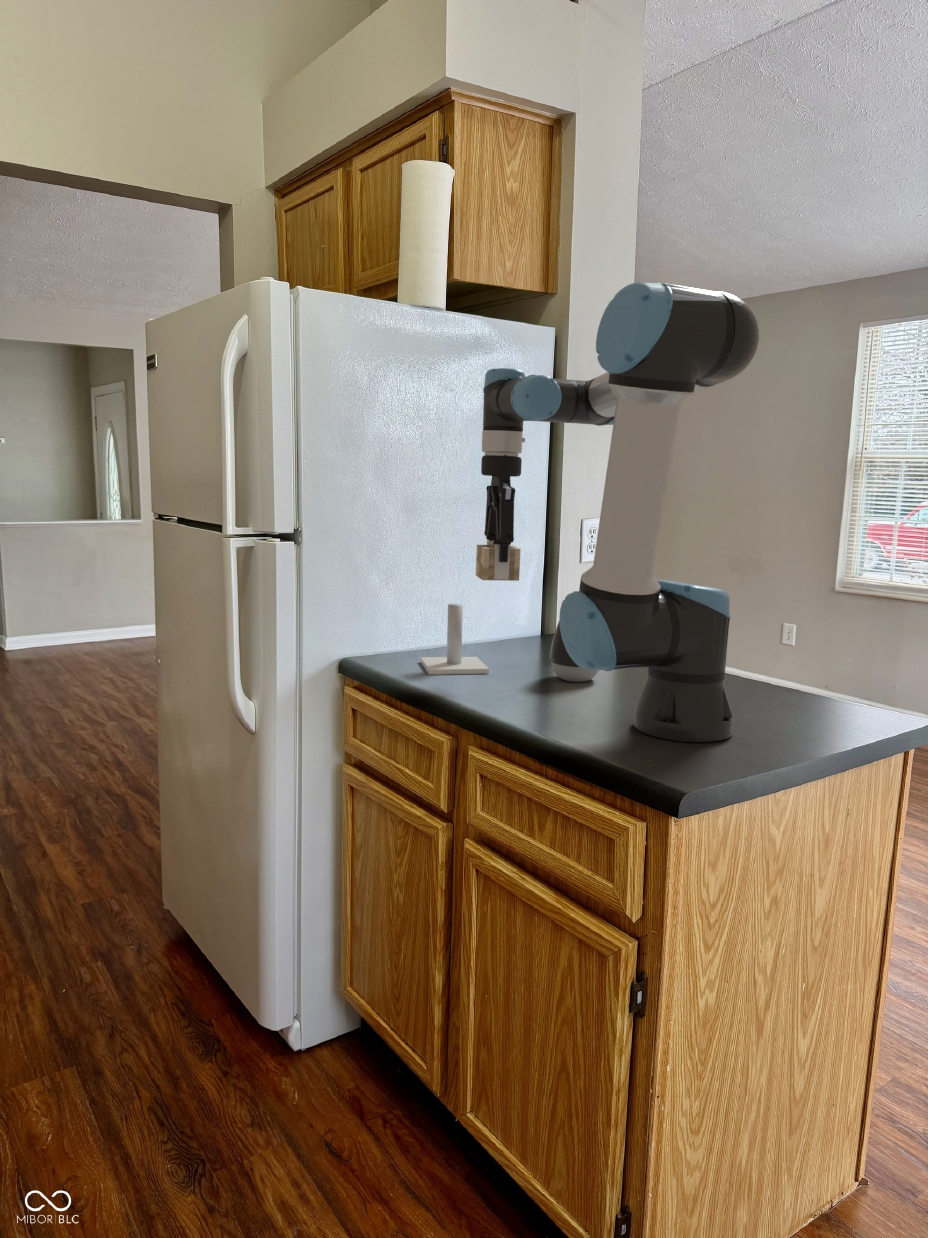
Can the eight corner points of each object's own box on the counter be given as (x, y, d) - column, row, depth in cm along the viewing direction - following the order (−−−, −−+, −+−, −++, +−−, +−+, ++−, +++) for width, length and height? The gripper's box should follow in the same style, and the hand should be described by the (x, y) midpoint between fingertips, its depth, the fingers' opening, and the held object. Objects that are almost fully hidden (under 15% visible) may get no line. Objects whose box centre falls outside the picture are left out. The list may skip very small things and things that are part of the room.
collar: (519, 580, 166) (520, 548, 165) (482, 580, 165) (483, 548, 164) (510, 575, 173) (511, 545, 172) (475, 575, 171) (476, 544, 170)
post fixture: (488, 673, 175) (490, 609, 173) (429, 674, 173) (430, 609, 171) (476, 661, 187) (478, 600, 185) (420, 662, 185) (421, 600, 183)
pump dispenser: (599, 674, 177) (603, 599, 175) (602, 686, 167) (607, 607, 165) (549, 672, 178) (552, 597, 176) (548, 683, 168) (552, 604, 166)
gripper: (534, 455, 156) (528, 583, 160) (509, 455, 175) (504, 570, 179) (493, 453, 154) (488, 583, 158) (472, 454, 174) (468, 570, 178)
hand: (496, 576), depth 169 cm, fingers closed on collar, 7 cm apart
